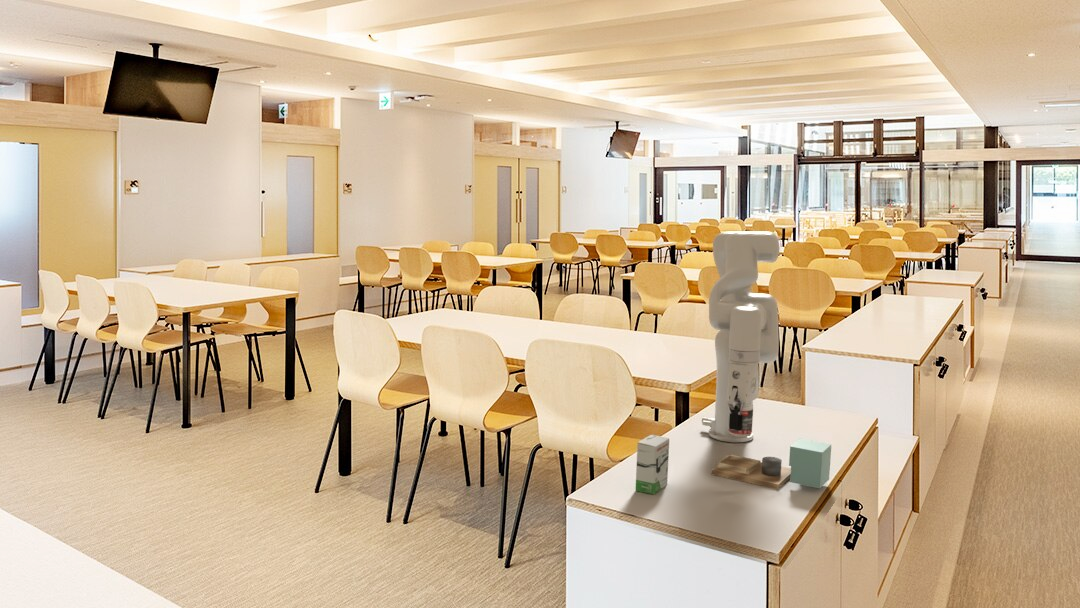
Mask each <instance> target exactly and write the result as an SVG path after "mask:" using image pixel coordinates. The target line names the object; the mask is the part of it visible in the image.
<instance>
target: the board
mask: <svg viewBox="0 0 1080 608" xmlns="http://www.w3.org/2000/svg"><path fill="white" fill-rule="evenodd" d="M761 461H762V462H761ZM782 463H783V462H782V459H781V458H779V457H776V456H764V457H762V459H761V460H759V459H755V458H750V457H744V456H739V455H735V454H730V453H729V454H727V455H726V456H724V457H723V458H721V459H720V460H718V461H717V462H716V466H714V467H713V468H712V469H711V473H710V474H711V475H713V476H717V477H721V478H727V479H730V480H734V481H740V482H745V483H749V484H753V485H757V486H761V487H767V488H771V489H774V490H775V489H776V490H779V489H780V488H781V487H782V486H783V485H785V484H786V483H787V482H788V481H790V476H791V467H786V466H782Z"/></svg>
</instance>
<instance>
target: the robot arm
mask: <svg viewBox="0 0 1080 608" xmlns="http://www.w3.org/2000/svg"><path fill="white" fill-rule="evenodd" d="M779 254H780V242H779V238H778V236H777V235H776V233H775V232H772V231H748V230H747V231H745V230H744V231H743V230H742V231H723V232H721V233H718V234H716V235H715V236H714V238H713V241H712V255H713V260H714V264H715V267H716V270H717V272H718V275H719V278H718V279H717V281H715V283H714V285H713V286H712V287H711V290H710V293H709V298H708V319H709V320H708V321H709V324H710V326H711V327H712V329H715V330H716V331H717V330H718V332H717V333H716V335H715V339H714V348H715V358H716V385H715V386H716V387H715V404H714V417H713V418H710V417H707V416H706V417H705V416H703V417H702V418H701V424H702V426H707V427H709V428H710V429H709V430H708V436H709V437H711V438H712V439H714V440H717V441H721V442H726V443H745V442H750V441H752V440H753V439H754V433H753V432H752V434H751V435H750V436H746V437H740V436H734V435H732V434H730V433H729V428H730V429H733V430H739V431H741V430H742V424H743V415H741V414H742V408H743V404H748V403H750V404H751V405H752V406H753V407H754V401H755V400H756V399H758V397H759V396H760V395H759V394H760V389H759V388H760V369H759V367H760V366H759V364H769V363H774V362H775V361H776V360H777V358H778V356H779V351H780V350H779V347H780V346H779V345H780V343H779V341H780V340H779V338H780V337H779V335H780V334H779V308H778V302H777V300H776V298H775V297H774V296H773V295H772V294H768V293H755V292H754V293H753V292H752V290H751V286H753V285H755V284H756V282H757V280H758V278H759V268H758V263H775V262H776V261H777V260H778V258H779ZM736 399H737V400H740V402H736ZM736 404H737V405H739V409H738V406H736ZM729 415H730V421H729Z"/></svg>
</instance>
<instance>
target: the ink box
mask: <svg viewBox="0 0 1080 608" xmlns="http://www.w3.org/2000/svg"><path fill="white" fill-rule="evenodd" d="M669 450H670V438H669V437H664V436H661V435H655V434H650V435H648V436H646V437H643V439H641V440H639V441H638V442H637V450H636V470H635V472H636V473H635V491H636V492H641V493H645V494H650V495H655V494H657V493H658V492H659V491H660V490H661V489H663V488H664V487H666V486H667V485H668V478H669V476H668V473H669V452H670V451H669Z"/></svg>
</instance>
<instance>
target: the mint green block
mask: <svg viewBox="0 0 1080 608" xmlns="http://www.w3.org/2000/svg"><path fill="white" fill-rule="evenodd" d="M831 455H832V444H831V443H827V442H826V443H825V442H821V441H817V440H816V441H814V440H809V439H804V438H799V439H798V440H796V441H794V442H793V444H791V445H790V446H789V459H788V460H789V461H788V465H789V466H790V468H791V476H790V479H789V482H790V483H792V484H797V485H801V486H805V487H812V488H816V489H821V488H822V487H823V486H825V484H827V482H828V481H829V480H830V472H831V471H830V470H831Z"/></svg>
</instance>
